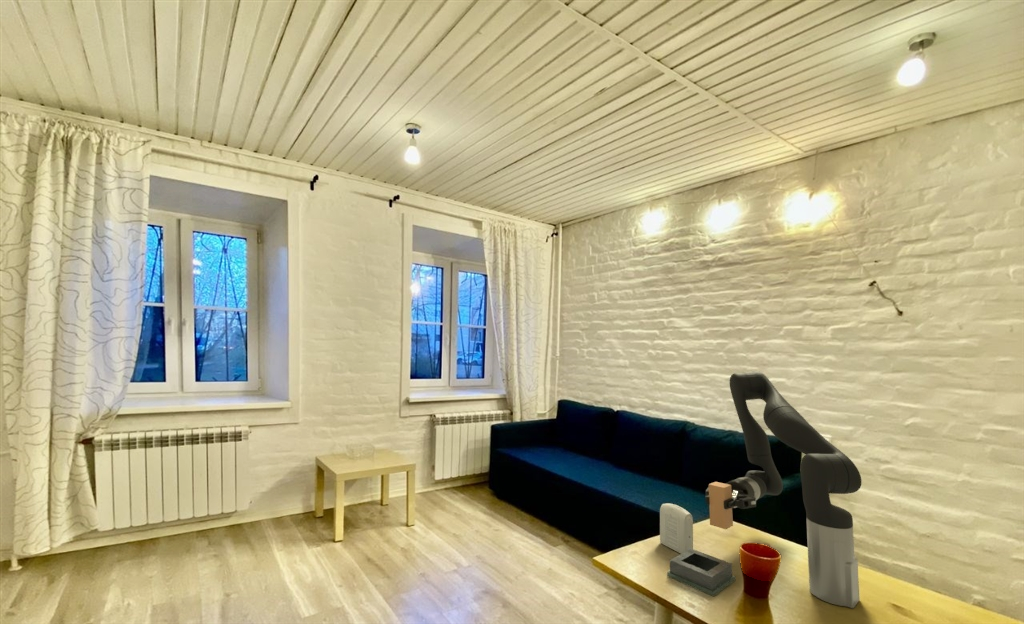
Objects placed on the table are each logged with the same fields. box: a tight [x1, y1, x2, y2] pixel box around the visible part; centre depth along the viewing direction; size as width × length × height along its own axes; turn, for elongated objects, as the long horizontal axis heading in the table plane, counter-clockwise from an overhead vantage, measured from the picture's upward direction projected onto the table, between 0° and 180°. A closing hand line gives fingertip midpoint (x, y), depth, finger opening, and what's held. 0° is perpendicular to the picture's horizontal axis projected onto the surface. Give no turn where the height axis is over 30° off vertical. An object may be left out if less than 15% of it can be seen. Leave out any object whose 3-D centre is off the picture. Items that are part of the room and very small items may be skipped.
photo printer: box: [659, 502, 694, 554], centre depth 130 cm, size 10×4×12 cm, turn 28°
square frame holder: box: [666, 548, 736, 597], centre depth 112 cm, size 12×12×4 cm
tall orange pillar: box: [708, 481, 734, 530], centre depth 123 cm, size 4×4×11 cm
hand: (716, 502), depth 122 cm, fingers closed on tall orange pillar, 4 cm apart
